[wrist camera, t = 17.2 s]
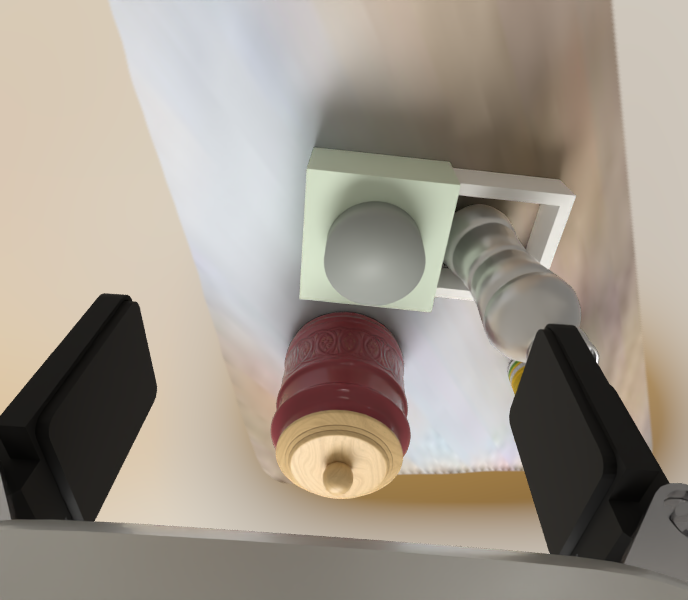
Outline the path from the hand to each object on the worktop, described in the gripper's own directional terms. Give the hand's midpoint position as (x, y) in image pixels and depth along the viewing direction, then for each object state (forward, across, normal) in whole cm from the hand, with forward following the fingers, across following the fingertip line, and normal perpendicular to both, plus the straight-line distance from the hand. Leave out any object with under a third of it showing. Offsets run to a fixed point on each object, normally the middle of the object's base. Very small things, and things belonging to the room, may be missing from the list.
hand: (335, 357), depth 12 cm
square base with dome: (+34, -7, +12) cm, 37 cm away
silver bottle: (+34, -11, +12) cm, 38 cm away
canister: (+34, 0, +29) cm, 44 cm away
